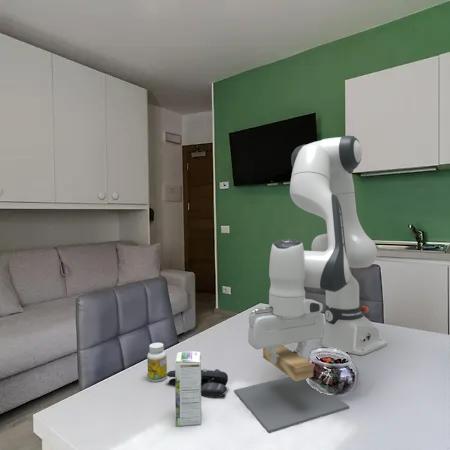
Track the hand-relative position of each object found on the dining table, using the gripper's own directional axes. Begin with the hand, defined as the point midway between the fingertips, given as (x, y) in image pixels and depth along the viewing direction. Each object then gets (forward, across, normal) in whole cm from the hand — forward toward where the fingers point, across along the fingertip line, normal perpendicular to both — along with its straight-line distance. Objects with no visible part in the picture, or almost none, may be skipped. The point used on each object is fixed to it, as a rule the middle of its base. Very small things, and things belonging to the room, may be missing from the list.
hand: (286, 360), depth 83 cm
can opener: (+11, -19, +15) cm, 26 cm away
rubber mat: (+10, +1, 0) cm, 10 cm away
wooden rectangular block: (+2, 0, 0) cm, 2 cm away
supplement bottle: (+11, -28, +25) cm, 39 cm away
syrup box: (+11, -24, +3) cm, 27 cm away
